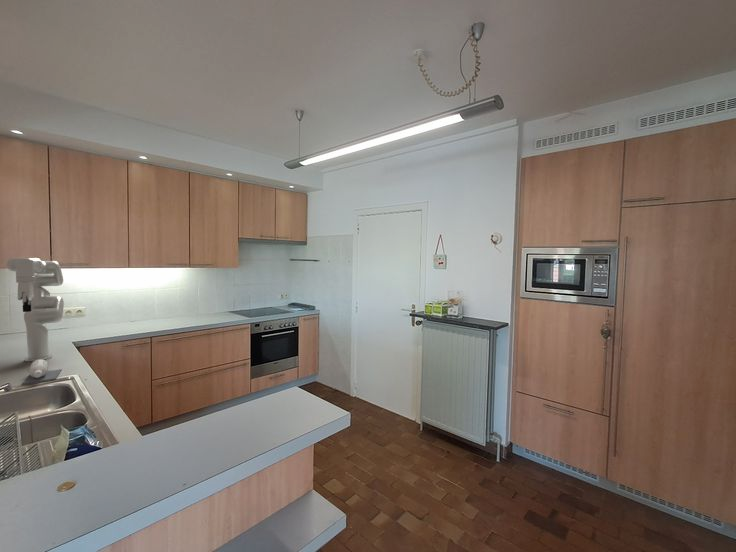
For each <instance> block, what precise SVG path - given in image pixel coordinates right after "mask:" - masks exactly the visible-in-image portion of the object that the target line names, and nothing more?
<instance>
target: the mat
mask: <svg viewBox="0 0 736 552" xmlns="http://www.w3.org/2000/svg"><path fill="white" fill-rule="evenodd" d="M61 372H62V369H61V368H59V369H53V370H47V373H46V374H45V375H44V376H42V377H38V378H35V377H32V376H31V375H30V374H28V376H26V377H25V379H24V380H23V381H22V382H21V385H22V386H23V385H24V386H25V385H30V384H37V383H42V382H49V381H56V380H57V378H58V376H60V374H61Z"/></svg>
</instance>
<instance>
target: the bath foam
mask: <svg viewBox="0 0 736 552" xmlns="http://www.w3.org/2000/svg"><path fill="white" fill-rule="evenodd" d="M48 367H49V362H48V361H47V360H46V359H45V360H42V359H40V360H36V361H32V363H31V364H30V367H29V371H28V372H29V374H30V375H31V376H32V377H35V378H38V377H42V376H44V375H45V374H46V373H47V371H49V368H48ZM29 374H28V375H29Z"/></svg>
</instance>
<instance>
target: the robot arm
mask: <svg viewBox="0 0 736 552" xmlns="http://www.w3.org/2000/svg"><path fill="white" fill-rule="evenodd" d="M59 263H60V262H58V261H56V260H41V259H40V258H37V257H10V258H8V259H7V261H6V266H7V268H8V270H10V271H11V272H14V273H15V283H17V301H22V312H23V320H24V324H25V328H26V344H27V348H26V349H27V357H25V358H24V362H34V361H36V360H40V359H42V360H45V361H46V360H48V359H51V358H52V357H53V354H51V353H50V345H49V330H48V328H47V326H45V325H44V324H56V323H59V322H61V321H62V320H63V313H64V305H65V303H64V299H63V297H61V296H58V295H55V296H52V295H51V293H50V292H49V290H47V289H46V288H45V287H59V286H61V285H63V284H64V276H63V272H62V268H61V265H60V264H59Z"/></svg>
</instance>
